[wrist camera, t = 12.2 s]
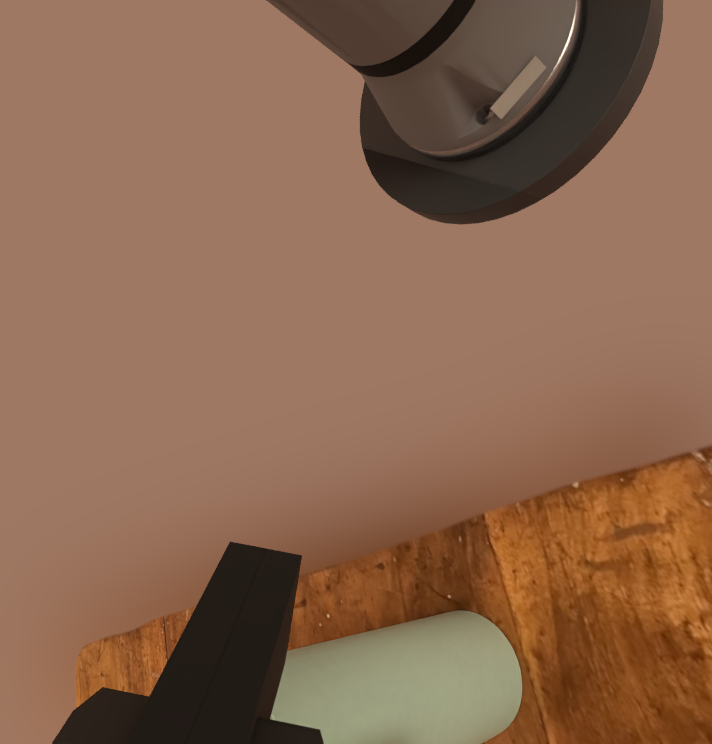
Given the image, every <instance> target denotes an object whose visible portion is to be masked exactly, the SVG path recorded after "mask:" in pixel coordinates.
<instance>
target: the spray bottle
mask: <svg viewBox="0 0 712 744" xmlns="http://www.w3.org/2000/svg"><path fill="white" fill-rule="evenodd" d="M521 698H522V676H521V670H520V666H519V662H518V659H517V657H516V654H515V652H514V650H513V648H512V646H511V644H510V643H509V641H508V639H507V638H506V637H505V635H504V634H503V633H502V632H501V630H500V629H499V628H498V627H497V626H496V625H494V624H493V623H492V622H491V621H489V620H488V619H486V618H485V617H483V616H481V615H479V614H477V613H474V612H470V611H464V610H459V611H452V612H447V613H443V614H439V615H435V616H431V617H427V618H422V619H418V620H414V621H410V622H406V623H401V624H397V625H393V626H389V627H385V628H381V629H376V630H372V631H368V632H364V633H360V634H356V635H351V636H347V637H343V638H339V639H335V640H330V641H326V642H322V643H318V644H314V645H310V646H305V647H301V648H297V649H293V650H289V651H287V654H286V660H285V665H284V669H283V673H282V676H281V680H280V684H279V688H278V691H277V695H276V699H275V702H274V706H273V710H272V714H271V717H270V719H271V720H276V721H281V722H286V723H291V724H296V725H300V726H305V727H310V728H315V729H320V731H321V735H322V739H323V742H324V744H482V743H484V742H486V741H487V740H489V739H491V738H493V737H495V736H496V735H498V734H500V733H501V732H503V731H504V730H505V729H506V728H507V727H508V726H509V725H510V724H511V723H512V721H513V720H514V719H515V717H516V715H517V713H518V710H519V707H520V703H521Z"/></svg>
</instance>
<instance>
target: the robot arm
mask: <svg viewBox="0 0 712 744" xmlns="http://www.w3.org/2000/svg"><path fill="white" fill-rule="evenodd" d="M267 1H268V2H269V3H271V4H272V5H273V6H275V7H276V8H277V9H278V10H280V11H281V12H282V13H283V14H285V15H286V16H287V17H289V18H290V19H291V20H293V21H294V22H295V23H297V24H298V25H299V26H300V27H302V28H303V29H304V30H305V31H307V32H308V33H309V34H311V35H312V36H313V37H314V38H316V39H317V40H318V41H320V42H321V43H322V44H323V45H325V46H326V47H327V48H329V49H330V50H331V51H332V52H334V53H335V54H336V55H338V56H339V57H340V58H341V59H343V60H344V61H346V62H347V63H348V64H349V65H351V66H352V67H353V68H354V69H356V70H357V71H358V72H359V73H360V74H361V75H362V76H363V78H364V80H365V82H366V84H367V85H368V87H369V89H370V91H371V92H372V94H373V96H374V98H375V99H376V101H377V103H378V105H379V106H380V108H381V110H382V112H383V113H384V115H385V117H386V118H387V120H388V122H389V124H390V125H391V127H392V128H393V130H394V131H395V133H396V134H397V135H398V136H399V137H400V138H401V139H402V140H403V141H404V142H405V143H407V144H408V145H409V146H411V147H412V148H414V149H415V150H416V151H418V152H419V153H421V154H422V155H424V156H426V157H428V158H431V159H434V160H439V161H447V162H455V161H464V160H469V159H473V158H476V157H479V156H482V155H485V154H487V153H489V152H491V151H494V150H496V149H498V148H499V147H501V146H503V145H504V144H506V143H508V142H509V141H511V140H512V139H514V138H515V137H516V136H518V135H519V134H520V133H521V132H523V131H524V130H525V129H526V128H527V127H528V126H530V125H531V124H532V123H533V122H534V121H535V120H536V119H537V118H538V117H539V116H540V115H541V114H542V113H543V112H544V110H545V109H546V108H547V107H548V106H549V104H550V103H551V102H552V101H553V99H554V98H555V96H556V95H557V94H558V92H559V91H560V89H561V88H562V86H563V85H564V83H565V81H566V80H567V78H568V76H569V74H570V72H571V70H572V68H573V66H574V64H575V61H576V59H577V57H578V54H579V51H580V48H581V45H582V42H583V38H584V34H585V28H586V22H587V0H267ZM301 558H302V556H301V555H296V554H291V553H286V552H281V551H275V550H270V549H265V548H260V547H255V546H249V545H244V544H239V543H234V542H230V543H229V545H228V547H227V549H226V551H225V552H224V554H223V556H222V558H221V560H220V562H219V564H218V566H217V568H216V570H215V572H214V574H213V576H212V578H211V580H210V581H209V583H208V585H207V587H206V589H205V591H204V593H203V595H202V597H201V599H200V601H199V602H198V604H197V606H196V608H195V610H194V612H193V614H192V616H191V618H190V620H189V622H188V624H187V626H186V627H185V629H184V631H183V633H182V635H181V637H180V639H179V641H178V643H177V645H176V647H175V649H174V651H173V653H172V654H171V656H170V658H169V660H168V662H167V664H166V666H165V668H164V670H163V672H162V674H161V676H160V678H159V679H158V681H157V683H156V685H155V687H154V689H153V691H152V693H151V695H150V697H148V696H143V695H138V694H133V693H128V692H123V691H118V690H114V689H109V688H104V687H102V688H101V689H100V690H99V691H97V692H96V693H95V694H94V695H92V696H91V697H90V698H89V699H87V700H86V701H85V702H84V703H82V704H81V705H80V706H79V707H77V708H76V709H75V710H74V711H73V712H72V714H71V715H70V717H69V718H68V719H67V721H66V723H65V724H64V726H63V727H62V729H61V730H60V732H59V734H58V735H57V736H56V738H55V740H54V741H53V743H52V744H324V742H323V739H322V735H321V731H320V729H315V728H310V727H305V726H300V725H296V724H291V723H286V722H281V721H276V720H271V719H270V717H271V714H272V710H273V706H274V702H275V699H276V695H277V691H278V688H279V684H280V680H281V676H282V673H283V669H284V665H285V660H286V654H287V648H288V641H289V635H290V628H291V622H292V616H293V609H294V603H295V596H296V590H297V584H298V577H299V571H300V564H301Z"/></svg>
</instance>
